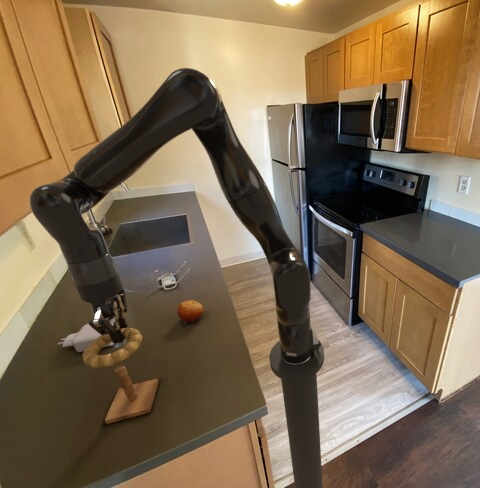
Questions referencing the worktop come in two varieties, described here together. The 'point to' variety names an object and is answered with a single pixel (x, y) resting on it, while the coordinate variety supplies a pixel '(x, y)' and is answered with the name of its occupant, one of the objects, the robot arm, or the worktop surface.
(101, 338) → the ring
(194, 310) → the fruit
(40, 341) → the worktop surface
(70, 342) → the charger
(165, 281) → the wall mount rack
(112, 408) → the wooden peg stand
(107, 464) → the worktop surface
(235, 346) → the worktop surface
